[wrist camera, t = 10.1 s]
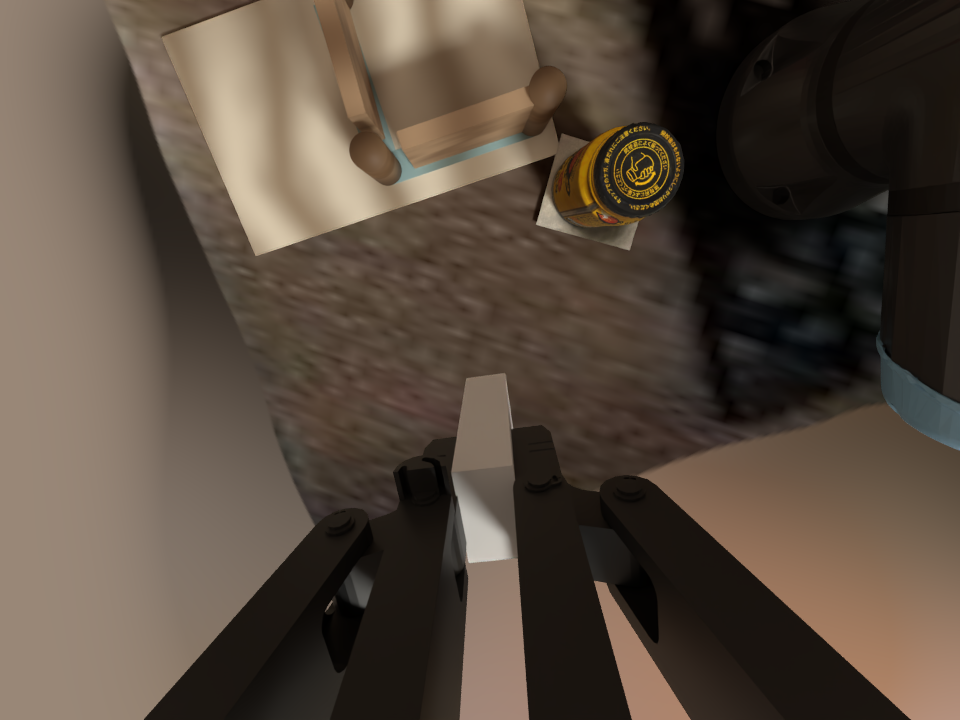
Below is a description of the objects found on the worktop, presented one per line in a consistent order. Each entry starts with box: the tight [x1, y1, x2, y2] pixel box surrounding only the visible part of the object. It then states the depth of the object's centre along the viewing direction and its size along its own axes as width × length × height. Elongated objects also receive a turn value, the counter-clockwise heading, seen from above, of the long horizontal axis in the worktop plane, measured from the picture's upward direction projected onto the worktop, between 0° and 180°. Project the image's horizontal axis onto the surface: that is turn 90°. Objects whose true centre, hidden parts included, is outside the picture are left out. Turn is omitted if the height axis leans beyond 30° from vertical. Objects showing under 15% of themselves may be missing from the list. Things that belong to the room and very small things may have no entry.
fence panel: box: [314, 0, 385, 140], centre depth 31 cm, size 11×2×8 cm, turn 14°
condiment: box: [536, 122, 684, 250], centre depth 32 cm, size 7×8×12 cm
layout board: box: [161, 0, 559, 256], centre depth 35 cm, size 27×17×1 cm, turn 108°
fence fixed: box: [349, 66, 567, 186], centre depth 33 cm, size 15×2×8 cm, turn 108°
